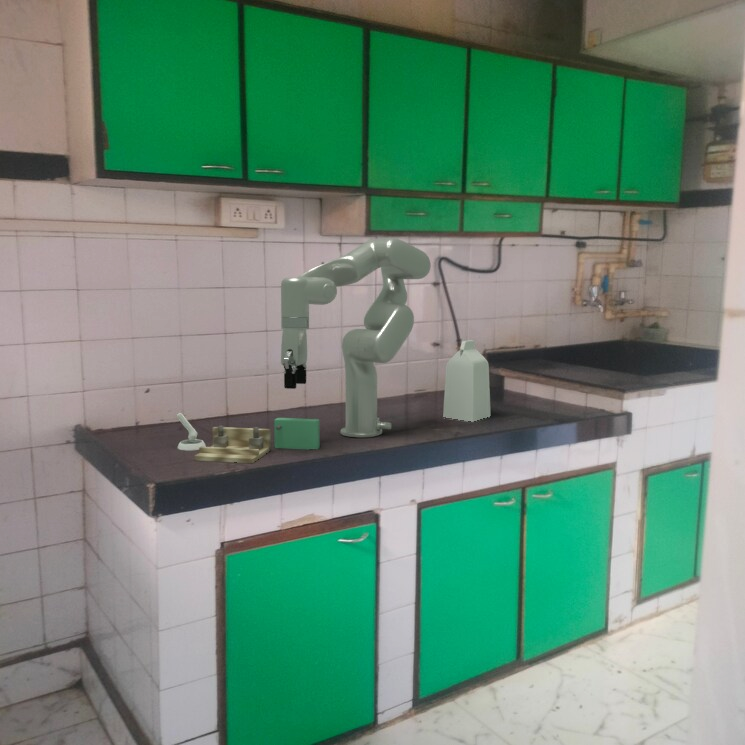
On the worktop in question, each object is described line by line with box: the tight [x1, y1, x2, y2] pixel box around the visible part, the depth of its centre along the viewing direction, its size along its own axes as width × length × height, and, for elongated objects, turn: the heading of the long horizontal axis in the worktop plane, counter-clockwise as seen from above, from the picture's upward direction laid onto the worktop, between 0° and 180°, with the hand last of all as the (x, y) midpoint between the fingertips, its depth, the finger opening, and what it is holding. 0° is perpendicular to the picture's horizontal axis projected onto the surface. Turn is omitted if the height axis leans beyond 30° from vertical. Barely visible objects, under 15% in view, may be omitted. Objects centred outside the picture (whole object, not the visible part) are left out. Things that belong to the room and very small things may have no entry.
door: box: [273, 417, 321, 450], centre depth 200 cm, size 12×4×8 cm, turn 79°
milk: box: [442, 339, 491, 423], centre depth 243 cm, size 12×12×26 cm
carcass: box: [193, 424, 272, 464], centre depth 191 cm, size 16×14×7 cm
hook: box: [176, 412, 207, 451], centre depth 201 cm, size 8×12×7 cm
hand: (295, 385), depth 199 cm, fingers open, 9 cm apart
